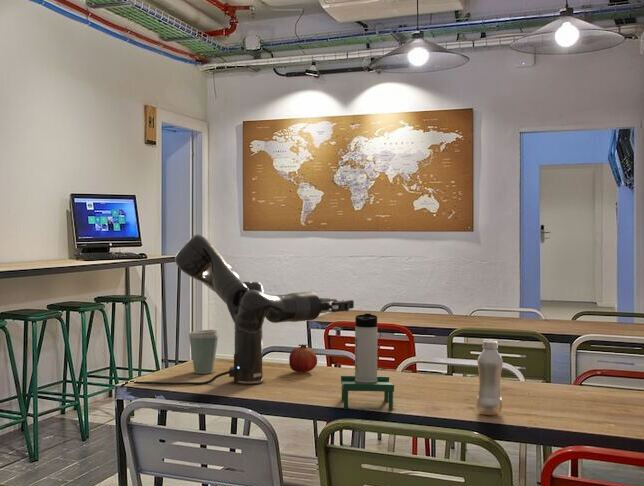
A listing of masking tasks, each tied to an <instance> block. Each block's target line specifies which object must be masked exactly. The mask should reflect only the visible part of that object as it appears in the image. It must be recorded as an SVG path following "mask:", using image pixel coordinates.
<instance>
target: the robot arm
mask: <svg viewBox="0 0 644 486" xmlns="http://www.w3.org/2000/svg"><path fill="white" fill-rule="evenodd" d="M174 261H175V264H176V267H178V268H179V269H180V270H181V271H182V272H183V273H184V274H185V275H187V276H189V277H190V278H193V279H194V280H196V281H198V282H200V283H202V284H204V285H205V286H206V287H207V288H208V289H210V290H211V291H213V292H214V293H215V294H216V295H217V296H218V297H219V298H220V299H221V300H222V302H223V303H224V304H225V305H226V307H227V310H228V313H229V314H230V317H231V319H232V321H233V323H234V354H233V366H230V367H229V368H228V369H229V370H227V371H225V372H221V373H219V374H218V373H217V374H216V375H214V376H213V377H212V378H211V379H209V380H206V381H186V382H185V381H182V382H181V381H180V382H178V381H177V382H172V381H171V382H170V381H167V382H166V381H139V382H138V381H137V380H127V381H124V382H125V384H123V383H121V385H120V386H119V387H120V388H123V387H125V386H126V385H129V384H130V383H128V381H130V382H134V381H136V382H134V383H133V384H135V385H157V386H159V385H160V386H164V385H165V386H190V385H191V386H195V385H196V386H202V385H207V384H211V383H213V382H214V381H215V380H216V379H218V378H220V377H222V376H226V375H228V377H229V378H233V384H239V385H257V384H262V383H263V381H264V380H263V325H264V322H265V319H266V320H267V321H268V322H270V323H274V324H278V323H287V322H289V323H290V322H291V323H297V322H306V321H314V320H316V319H317V318H318V317H319V316H320V314H326V313H337V312H338V313H339V312H349V311H350V310H352V309H354V307H355V302H354V300H352V299H349V300H348V299H347V300H344V299H342V300H338V299H336V298H329V297H319V296H318V295H317V293H315V292H312V291H301V292H291V293H287V294H270V293H266V292H265V289H264V285H263V284H262V283H261V282H259V281H242V280H241V279H240V275H239V273H238V272H237V270H236V269H235V268H234V267H232V266H231V265H230V264H229V263H228V262H227V261H226V259H225V258H224V257H223V255H222V254H221V253H220V252H219V250H218V249H217V248H216V246H215V245H214V244H212V242H211V241H209V239H207V237H204V236H203V235H201V234H194V235H193V236H192V237H191V238H190V239H189V240H187V242H186V243H185V244H184V246H182V247H181V249H179V250H178V252H177V253H176V255H175V257H174Z"/></svg>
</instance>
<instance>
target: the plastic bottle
mask: <svg viewBox="0 0 644 486" xmlns="http://www.w3.org/2000/svg"><path fill="white" fill-rule="evenodd" d="M482 348H483V350H482V351H481V353H480V354H479V355H478V357H477V371H478V390H477V391H478V393H477V397H476V403H475V407H476V411H477V412H478V413H479V414H482V415H486V416H496V415H500V413H501V412H502V409H503V401H502V394H501V376H502V371H503V365H504V361H503V357H502V355H501V354H500V353H499V351H498V349H499V347H498V341H497V340H491V339H490V340H487V339H486V340H483V341H482Z"/></svg>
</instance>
